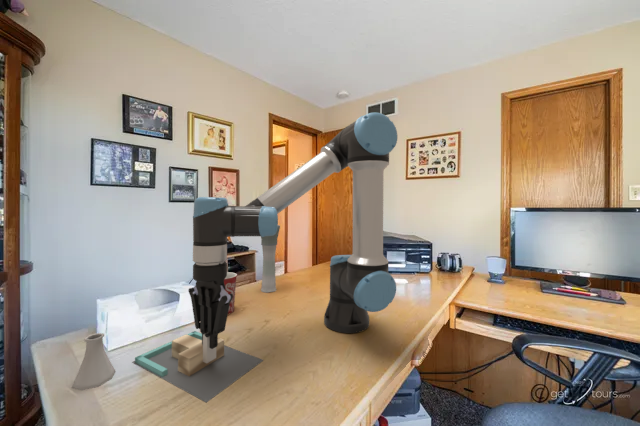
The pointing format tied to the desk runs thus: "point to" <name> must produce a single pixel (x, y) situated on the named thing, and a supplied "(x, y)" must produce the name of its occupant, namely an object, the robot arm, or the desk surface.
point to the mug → (230, 288)
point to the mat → (204, 380)
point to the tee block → (192, 353)
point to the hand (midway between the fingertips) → (209, 359)
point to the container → (269, 262)
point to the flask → (94, 365)
